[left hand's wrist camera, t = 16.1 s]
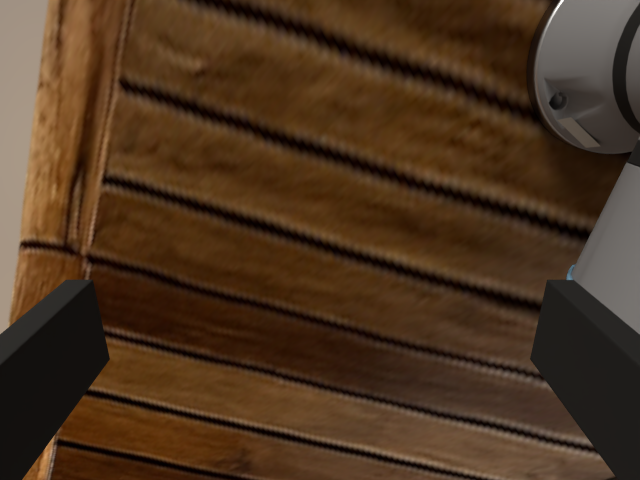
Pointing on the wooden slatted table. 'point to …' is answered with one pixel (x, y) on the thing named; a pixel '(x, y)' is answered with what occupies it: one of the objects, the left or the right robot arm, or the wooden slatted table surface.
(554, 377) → the left robot arm
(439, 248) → the wooden slatted table surface
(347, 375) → the wooden slatted table surface
